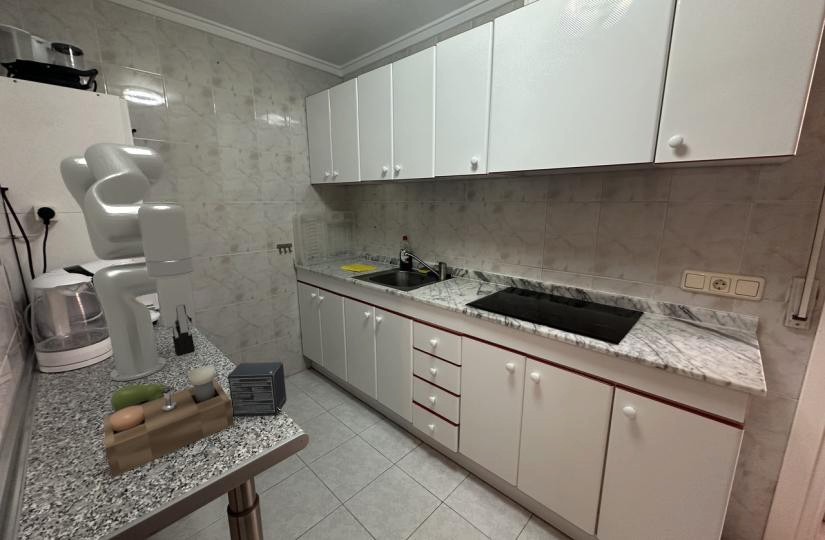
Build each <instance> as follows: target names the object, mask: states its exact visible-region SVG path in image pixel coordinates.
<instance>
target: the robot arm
mask: <svg viewBox="0 0 825 540" xmlns="http://www.w3.org/2000/svg"><path fill="white" fill-rule="evenodd" d="M59 171H60V175H61V178H62V181H63V183H64V185H65V186H66V189H67V191H68V192H69V193H70V195H71V197H72V198H73V199H74V201H76V203H77V205H78V206H79V208H80V209H81V211H82V213H83V217H84V221H85V226H86V230H87V234H88V237H89V242H90V246H91V248H92V251H93V253H94V255H95V256H96V257H97V258H98V259H100V260H101V261H120V260H121V261H123V260H130V259H138V258H139V259H140V258H144V260H145V261H142V262H131V263H123V264H116V265H109V266H105V267H102V268H101V269H98V270H97V271H96V272H94V274H93V276H92V277H93V278H92V282H93V286H94V289H95V291H96V294H97V295H98V298H99V300H100V303H101V306H102V309H103V312H104V317H105V321H106V325H107V330H108V335H109V339H110V345H111V348H112V354H113V358H114V362H115V363H114V364H115V368H114V369H113V370H111V372H110V375H109V376H110V378H111V380H113V381H115V382H125V381H128V382H129V381H133V380H137V379H141V378H144V377H147V376H151V375H153V374H155V373H157V372H159V371H161V370H162V369H163V368H164V367H165V366H166V365H167V360H166V358H164V357H162V356H159V352H158V348H157V347H158V346H157V341H156V336H155V331H154V325H153V321H152V320H153V319H152V315H151V310H150V308H149V307H148V306H147V305H146V304H144V303H142V302H141V301H140V300H137V299H136V298H140V297H142V296H147V295H153V294H156V295H157V301H158V307H159V312H160V319H161V322H162V324H163V326H164V328H166V329H170V328H171V330H172V341H173V342H172V343H173V347H174V348H173V349H174V353H175V355H176V356H177V357H181V356H184V355H189V354H192V353H194V352H195V351H196V350H195V343H194V337H193V333H192V331H191V330H192V329H191V324H193V323H194V322H196V319H195V308H194V302H193V300H194V299H193V294H192V287H191V283H190V278H189V276H191V275H193V274H195V266H194V259H193V253H192V247H191V238H190V231H189V224H188V218H187V213H186V211H185V209H184V207H182V206H181V205H177V204H176V205H175V204H166V203H138V202H140V201H142V200H144V199H145V198H146V197H147V196H148V195H149V193H150V190H152V188H154V187H155V186H157V185H159V184H160V182H162V180H163V179H164V177H165V174H166V167H165V163H164V160H163V158H162V156H161V155H160V154H159V153H158V151H156V150H154V149H153V148H150V147H148V146H141V145H131V144H123V143H121V144H120V143H114V142H113V143H112V142H98V143H94V144H92V145H90V146H88V147H87V148H86V149H85V150H84V155H74V156H68V157H65V158H63V159H62V160H60V163H59Z"/></svg>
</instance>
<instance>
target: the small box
mask: <svg viewBox="0 0 825 540" xmlns="http://www.w3.org/2000/svg"><path fill="white" fill-rule="evenodd" d="M227 379H228V380H227V381H228V387H229V393H230V394H229V395H230V400H231V405H232V413H233V418H234V417H236V418H237V417H258V416H259V417H262V416H265V417H266V416H278V415H280V412H281V411H280V410H279V409H281V410H282V408H283V407H284V405H286V402H287V391H286V381H285V371H284V362H283V361H276V362H275V361H274V362H250V363H249V362H241V363H239V364H238V365H237V366H236V367H235V368H234V369H233V370H232V371H231V372H230V373H228V374H227ZM277 407H278V408H279V409H278V408H277Z"/></svg>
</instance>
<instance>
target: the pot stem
mask: <svg viewBox="0 0 825 540" xmlns="http://www.w3.org/2000/svg"><path fill="white" fill-rule="evenodd" d="M171 391H172V390H171V387H170V386H165V387H163V389H162V393H163V395H164V396H163V397H165V403H166V404H164V405H163V406H162V411H163V412H169V411H172V410H174V409H175V408H176V407H177V405H176V402H172V401H171V396H170V395H171Z"/></svg>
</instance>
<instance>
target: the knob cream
mask: <svg viewBox="0 0 825 540" xmlns="http://www.w3.org/2000/svg"><path fill="white" fill-rule="evenodd" d="M215 371H216V370H215V367H214V366H213V365H202V366H199V367H196V368H194V369H192V370H190V371H189V372H188V379H189V384H190V385H192V386H193V387H194V390H195V396H196V402H197V404H198V403H201V402H204V401H206V400H209V399H212V398H215V391H214V384H213V380H215V379H216V376H217V375H216V372H215Z"/></svg>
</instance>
